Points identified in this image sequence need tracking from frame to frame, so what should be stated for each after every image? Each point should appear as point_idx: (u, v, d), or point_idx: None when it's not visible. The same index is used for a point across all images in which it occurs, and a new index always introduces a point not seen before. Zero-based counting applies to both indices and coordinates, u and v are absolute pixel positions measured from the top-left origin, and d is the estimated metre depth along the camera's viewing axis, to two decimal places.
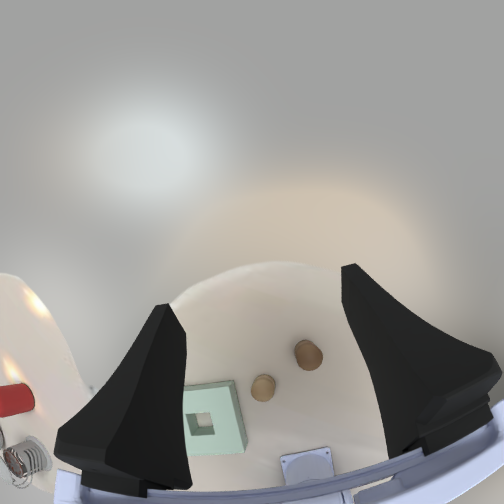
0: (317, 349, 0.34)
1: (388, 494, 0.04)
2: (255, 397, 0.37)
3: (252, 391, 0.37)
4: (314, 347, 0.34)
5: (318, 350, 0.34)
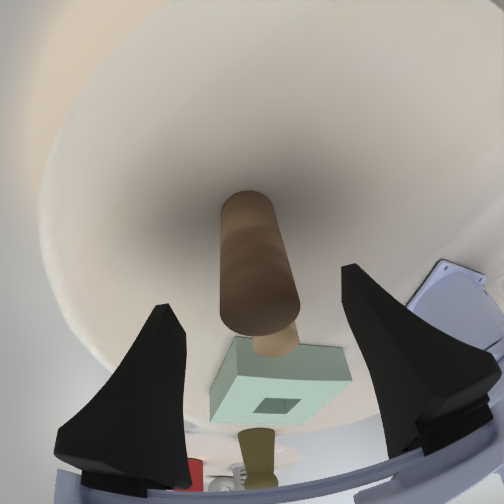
0: (248, 287, 0.11)
1: (388, 494, 0.04)
2: (280, 354, 0.20)
3: (266, 355, 0.20)
4: (236, 291, 0.11)
5: (252, 286, 0.11)
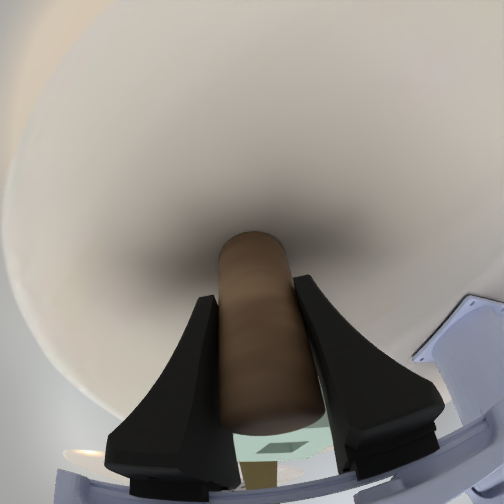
0: (258, 404, 0.07)
1: (388, 494, 0.04)
2: None
3: None
4: (242, 408, 0.07)
5: (265, 403, 0.07)
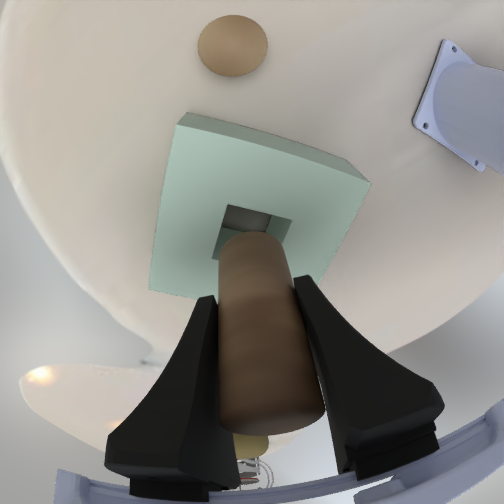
0: (258, 404, 0.07)
1: (388, 494, 0.04)
2: (241, 70, 0.12)
3: (219, 69, 0.12)
4: (242, 407, 0.07)
5: (264, 403, 0.07)
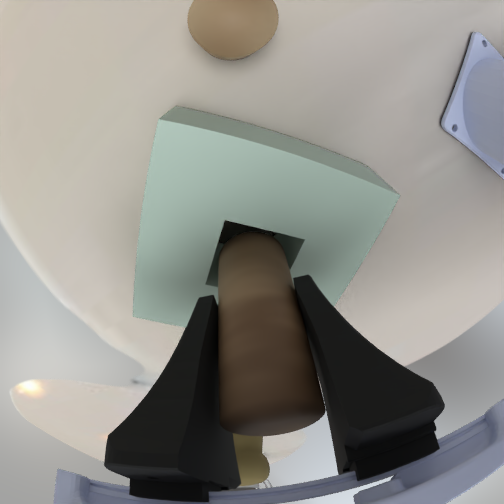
0: (258, 404, 0.07)
1: (388, 494, 0.04)
2: (244, 49, 0.08)
3: (215, 48, 0.08)
4: (242, 408, 0.07)
5: (265, 403, 0.07)
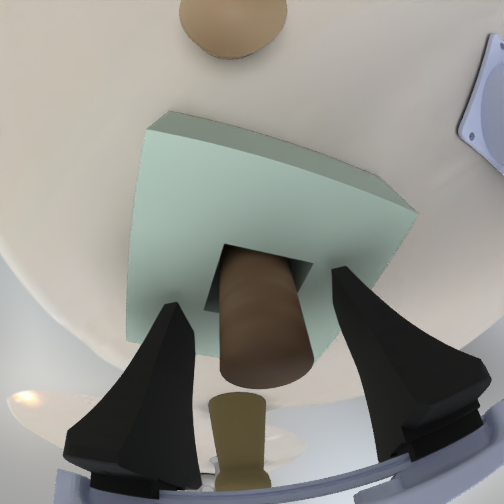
0: (253, 346, 0.09)
1: (388, 494, 0.04)
2: (246, 46, 0.07)
3: (212, 44, 0.07)
4: (240, 350, 0.09)
5: (259, 345, 0.09)
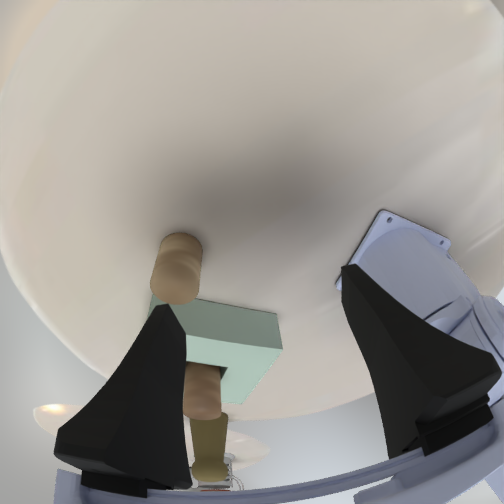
0: (194, 407, 0.20)
1: (388, 494, 0.04)
2: (182, 301, 0.19)
3: (168, 301, 0.19)
4: (189, 408, 0.21)
5: (196, 407, 0.20)
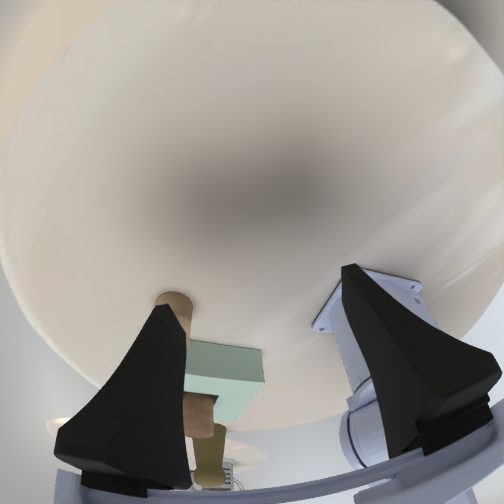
0: (190, 429, 0.24)
1: (388, 494, 0.04)
2: None
3: None
4: (186, 430, 0.24)
5: (192, 429, 0.24)
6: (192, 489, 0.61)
